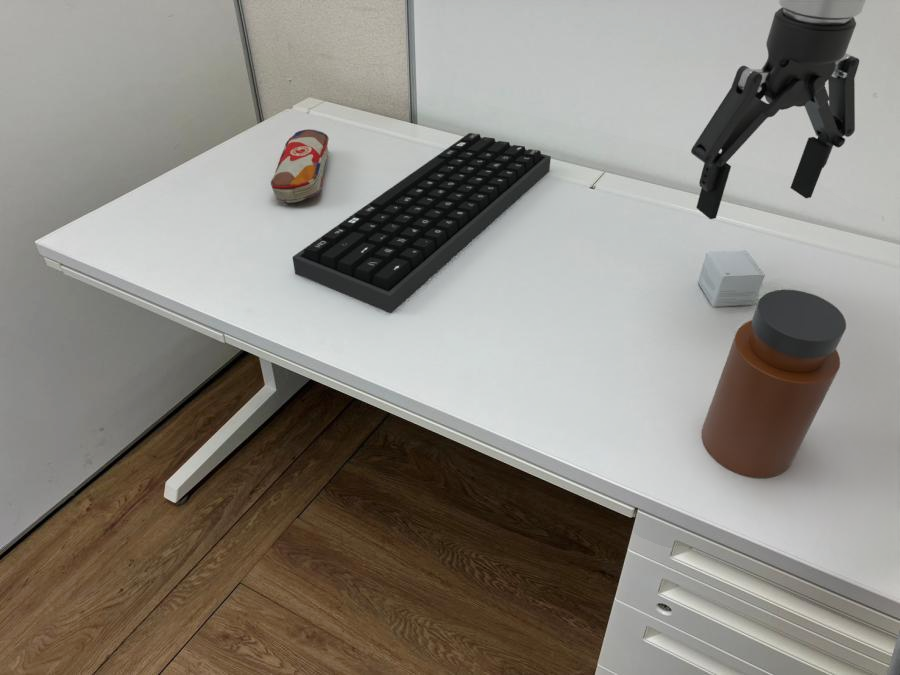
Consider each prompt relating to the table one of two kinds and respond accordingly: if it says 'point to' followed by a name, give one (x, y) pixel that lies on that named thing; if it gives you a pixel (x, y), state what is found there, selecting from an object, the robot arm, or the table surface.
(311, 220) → the table surface
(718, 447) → the bottle
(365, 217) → the computer keyboard
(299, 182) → the pencil case
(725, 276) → the small box
